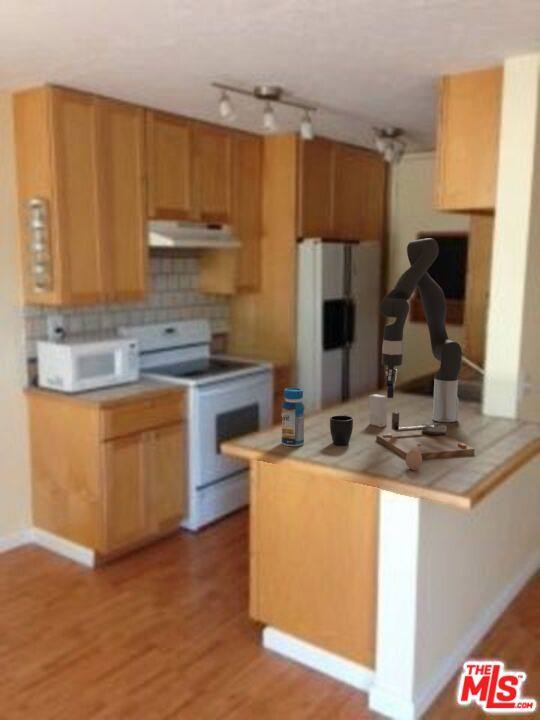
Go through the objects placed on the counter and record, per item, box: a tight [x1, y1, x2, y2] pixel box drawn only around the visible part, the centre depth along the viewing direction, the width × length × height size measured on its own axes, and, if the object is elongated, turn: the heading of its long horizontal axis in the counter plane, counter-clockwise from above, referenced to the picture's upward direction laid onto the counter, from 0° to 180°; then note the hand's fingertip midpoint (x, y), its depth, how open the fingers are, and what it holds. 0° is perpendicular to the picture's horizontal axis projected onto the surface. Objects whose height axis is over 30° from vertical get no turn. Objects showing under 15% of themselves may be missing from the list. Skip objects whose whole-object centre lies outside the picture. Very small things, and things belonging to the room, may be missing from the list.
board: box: [375, 430, 476, 460], centre depth 239 cm, size 25×25×3 cm
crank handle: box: [391, 411, 448, 435], centre depth 248 cm, size 22×9×8 cm, turn 106°
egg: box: [405, 449, 423, 471], centre depth 214 cm, size 5×5×7 cm
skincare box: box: [368, 393, 388, 428], centre depth 268 cm, size 6×4×12 cm
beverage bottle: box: [280, 387, 306, 447], centre depth 241 cm, size 8×8×20 cm
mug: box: [329, 414, 354, 447], centre depth 244 cm, size 8×12×10 cm
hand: (390, 397), depth 253 cm, fingers closed
